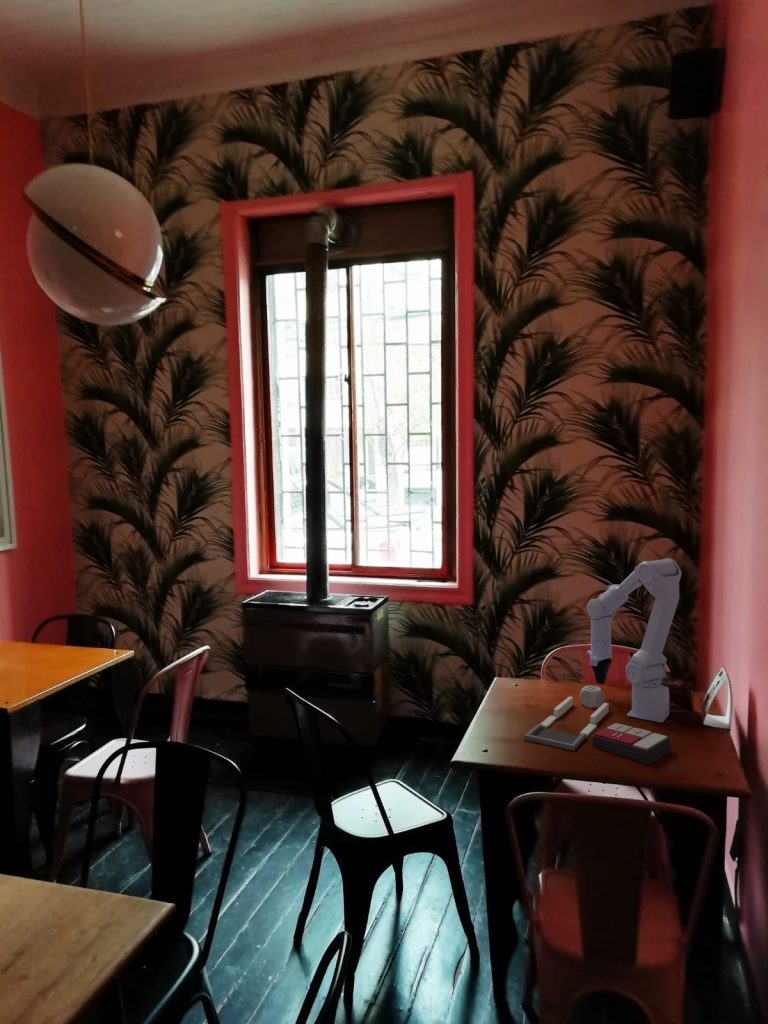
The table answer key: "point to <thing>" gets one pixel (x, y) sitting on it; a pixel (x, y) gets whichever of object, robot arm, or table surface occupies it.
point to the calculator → (632, 743)
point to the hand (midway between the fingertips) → (600, 683)
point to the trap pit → (554, 738)
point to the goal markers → (586, 730)
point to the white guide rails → (593, 718)
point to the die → (592, 696)
